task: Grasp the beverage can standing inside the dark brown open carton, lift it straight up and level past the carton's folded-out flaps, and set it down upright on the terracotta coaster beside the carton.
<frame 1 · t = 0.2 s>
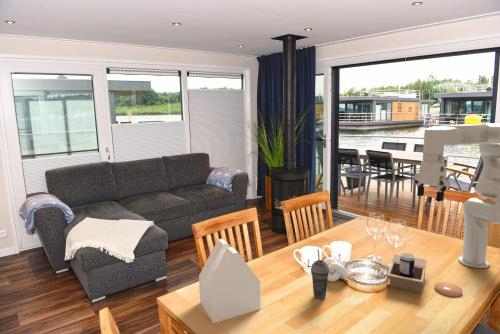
hand: (429, 198, 151), 37 cm above the table, tool pointing down, fingers open, 9 cm apart
white rounded piece: (337, 279, 159), on the table
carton: (406, 281, 155), on the table
milk carton: (229, 306, 140), on the table
coaster: (448, 290, 147), on the table
beverage can: (406, 282, 155), resting in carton
beverage cup: (319, 297, 144), on the table
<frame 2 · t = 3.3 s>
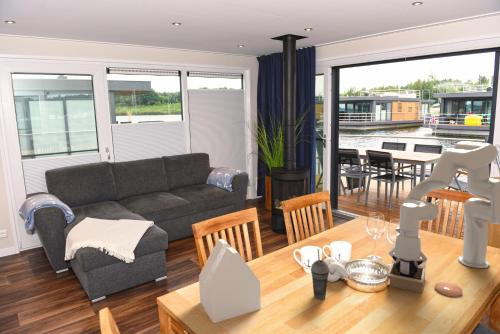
hand: (406, 271, 154), 5 cm above the table, tool pointing down, fingers closed on beverage can, 5 cm apart
beverage can: (406, 282, 155), resting in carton, touching gripper
everything else where it was.
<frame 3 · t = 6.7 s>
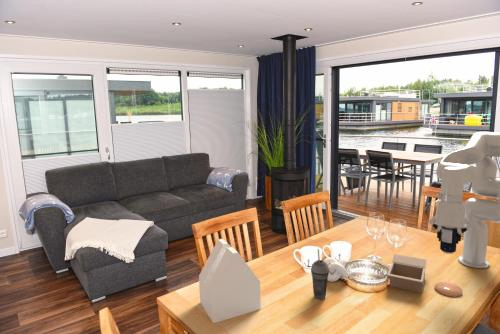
hand: (448, 240, 144), 21 cm above the table, tool pointing down, fingers closed on beverage can, 5 cm apart
beverage can: (447, 252, 145), point 16 cm above the table, touching gripper
everything else where it was.
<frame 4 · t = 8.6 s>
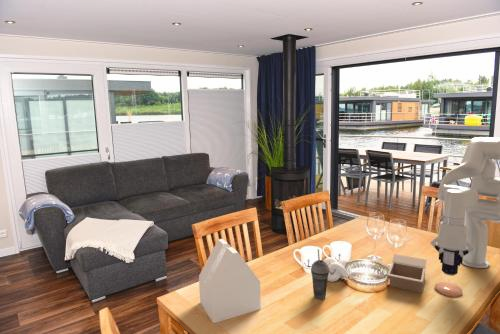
hand: (450, 262, 145), 12 cm above the table, tool pointing down, fingers closed on beverage can, 5 cm apart
beverage can: (449, 273, 146), point 7 cm above the table, touching gripper
everything else where it was.
when the fingers open (7 cm above the table, at t = 10.1 s): beverage can drops 1 cm, resting on coaster.
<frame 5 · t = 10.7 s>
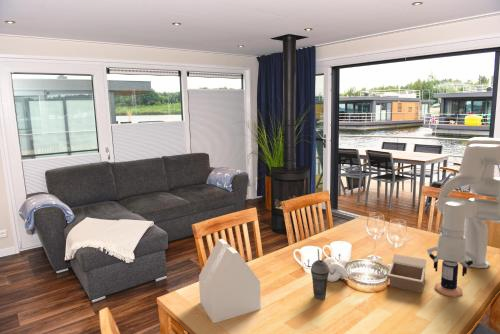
hand: (449, 272, 146), 8 cm above the table, tool pointing down, fingers open, 9 cm apart
beverage can: (448, 288, 147), point 1 cm above the table, touching coaster
everything else where it was.
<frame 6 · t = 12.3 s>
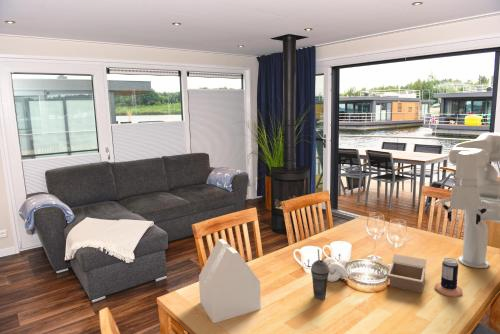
hand: (463, 221, 148), 27 cm above the table, tool pointing down, fingers open, 9 cm apart
nothing on the table moved.
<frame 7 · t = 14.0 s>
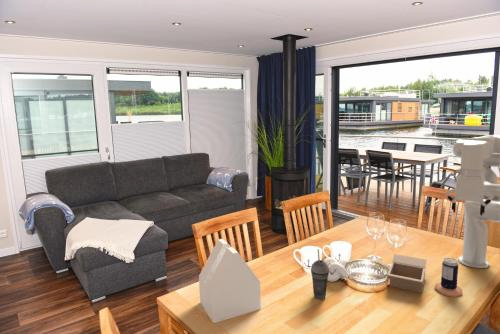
hand: (467, 213, 150), 30 cm above the table, tool pointing down, fingers open, 9 cm apart
nothing on the table moved.
at the end: beverage can 0.2 cm from the coaster (horizontally); beverage can tilted 0°; beverage can touching coaster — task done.
